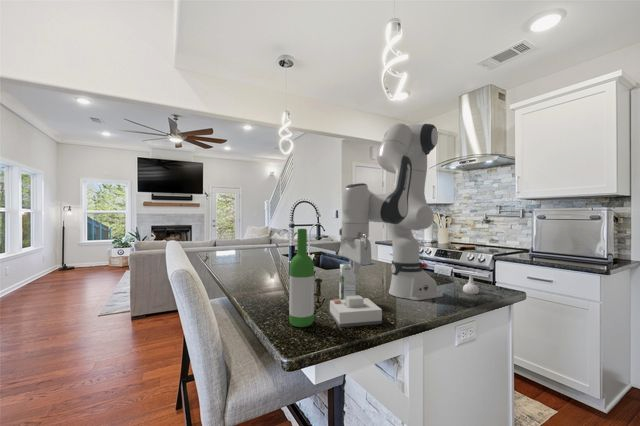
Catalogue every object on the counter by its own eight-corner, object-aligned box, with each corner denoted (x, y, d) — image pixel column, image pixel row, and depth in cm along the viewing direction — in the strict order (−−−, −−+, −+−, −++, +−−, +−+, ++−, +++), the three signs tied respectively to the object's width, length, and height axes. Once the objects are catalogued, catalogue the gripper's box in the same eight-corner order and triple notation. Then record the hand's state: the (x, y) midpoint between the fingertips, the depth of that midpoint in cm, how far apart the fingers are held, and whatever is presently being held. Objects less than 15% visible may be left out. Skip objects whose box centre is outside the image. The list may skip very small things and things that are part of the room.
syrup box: (338, 299, 115) (339, 263, 114) (353, 299, 115) (353, 263, 115) (341, 304, 109) (341, 266, 109) (356, 303, 109) (356, 266, 109)
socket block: (367, 310, 102) (367, 295, 102) (381, 323, 90) (381, 307, 90) (329, 313, 99) (329, 298, 99) (339, 327, 87) (339, 310, 87)
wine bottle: (313, 318, 94) (314, 228, 94) (313, 328, 86) (314, 229, 86) (290, 318, 94) (290, 228, 94) (288, 328, 86) (288, 229, 86)
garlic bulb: (478, 296, 122) (481, 278, 122) (462, 293, 125) (464, 275, 125) (477, 292, 128) (480, 275, 128) (462, 289, 131) (464, 272, 130)
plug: (359, 312, 97) (359, 295, 97) (363, 316, 93) (363, 298, 93) (345, 313, 96) (345, 296, 96) (348, 317, 92) (349, 299, 92)
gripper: (377, 234, 85) (376, 280, 85) (354, 229, 105) (353, 267, 105) (357, 234, 84) (356, 281, 84) (337, 229, 104) (337, 267, 104)
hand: (354, 273), depth 94 cm, fingers closed
